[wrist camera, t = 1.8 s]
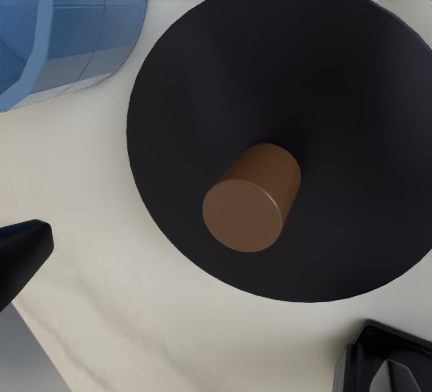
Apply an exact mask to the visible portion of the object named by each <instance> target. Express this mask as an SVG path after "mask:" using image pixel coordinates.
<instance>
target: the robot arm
mask: <svg viewBox="0 0 432 392" xmlns="http://www.w3.org/2000/svg"><path fill="white" fill-rule="evenodd" d="M53 249H54V241H53V235H52V228H51V226H50V224H48V223H46V222H44V221H41V220H38V219H34V220H30V221H25V222H21V223H17V224H13V225H9V226H5V227H1V228H0V312H1V311H2V310H3V309H4V308H5V307H6V306H7V305H8V304H9V303H10V302H11V301H12V300H13V299H14V298H15V297H16V296H17V295H18V294H19V292H20V291H21V290H22V289H23V288H24V287H25V285H26V284H27V283H28V282H29V280H30V279H31V278H32V277H33V276H34V274H35V273H36V272H37V271H38V270H39V268H40V267H41V266H42V265H43V264H44V262H45V261H46V260H47V259H48V257H49V256H50V255H51V254H52V252H53ZM370 328H371V329H374V330H371V329H370ZM332 392H432V343H431V342H428V341H425V340H423V339H420V338H417V337H415V336H412V335H410V334H407V333H404V332H402V331H399V330H396V329H394V328H391V327H388V326H386V325H383V324H380V323H378V322H375V321H366V322H364V323H363V325H362V327H361V329H360V331H359V332H358V334H357V336H356V338H355V340H354V342H353V343H351V342H350V343H348V344H346V346H345V348H344V350H343V352H342V354H341V356H340V357H339V359H338V361H337V363H336V365H335V372H334V381H333V390H332Z"/></svg>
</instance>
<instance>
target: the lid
mask: <svg viewBox="0 0 432 392" xmlns="http://www.w3.org/2000/svg"><path fill="white" fill-rule="evenodd" d="M126 135H127V150H128V156H129V161H130V167H131V170H132V174H133V177H134V180H135V184H136V186H137V189H138V191H139V194H140V196H141V198H142V201H143V202H144V204H145V206H146V208H147V210H148V212H149V213H150V215H151V217H152V218H153V220H154V221H155V223H156V224H157V226H158V227H159V229H160V230H161V231H162V232H163V233H164V235H165V236H166V237H167V238H168V239H169V241H170V242H171V243H172V244H173V245H174V246H175V247H176V248H177V249H178V250H179V251H180V252H181V253H182V254H183V255H184V256H186V257H187V258H188V259H189V260H190V261H192V262H193V263H194V264H195V265H197V266H198V267H200V268H201V269H202V270H204V271H205V272H207V273H208V274H210V275H212V276H213V277H215V278H217V279H219V280H220V281H222V282H224V283H226V284H228V285H231V286H233V287H235V288H237V289H240V290H242V291H245V292H248V293H251V294H254V295H257V296H261V297H265V298H270V299H274V300H281V301H288V302H303V303H315V302H330V301H335V300H341V299H347V298H351V297H354V296H357V295H361V294H364V293H367V292H370V291H372V290H374V289H377V288H379V287H381V286H384V285H386V284H388V283H389V282H391V281H393V280H394V279H396V278H398V277H399V276H401V275H403V274H404V273H405V272H407V271H408V270H409V269H411V268H412V267H413V266H414V265H416V264H417V263H418V262H419V261H420V260H421V259H422V258H423V257H424V256H425V255H426V254H427V253H428V252H429V251H430V250H431V249H432V50H431V48H430V47H429V46H428V45H427V44H426V43H425V41H424V40H423V39H422V38H421V37H420V36H419V34H418V33H416V32H415V31H414V30H413V29H412V28H411V27H409V26H408V25H407V24H406V23H405V22H403V21H402V20H401V19H400V18H399V17H397V16H396V15H395V14H393V13H392V12H390V11H388V10H387V9H385V8H383V7H382V6H380V5H378V4H377V3H375V2H373V1H372V0H205V1H204V2H202V3H200V4H199V5H197V6H195V7H194V8H192V9H190V10H189V11H188V12H186V13H185V14H184V15H183V16H182V17H180V18H179V19H178V20H177V21H176V22H174V23H173V24H172V25H171V26H170V27H169V28H168V29H167V31H166V32H165V33H164V34H163V35H162V36H161V37H160V38H159V40H158V41H157V42H156V43H155V45H154V46H153V48H152V49H151V51H150V53H149V54H148V56H147V57H146V59H145V61H144V63H143V65H142V67H141V69H140V71H139V73H138V75H137V77H136V80H135V84H134V87H133V90H132V93H131V96H130V102H129V108H128V113H127V130H126Z"/></svg>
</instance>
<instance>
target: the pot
mask: <svg viewBox="0 0 432 392" xmlns="http://www.w3.org/2000/svg"><path fill="white" fill-rule="evenodd" d="M146 6H147V0H0V113H1V112H7V111H10V110H14V109H17V108H20V107H24V106H27V105H30V104H34V103H37V102H40V101H44V100H47V99H50V98H53V97H57V96H60V95H63V94H67V93H70V92H74V91H77V90H80V89H84V88H87V87H90V86H92V85H94V84H95V83H98V82H100V81H102V80H104V79H106V78H107V77H109V76H110V75H112V74H113V73H114V72H115V71H116V70H118V69H119V67H120V66H121V65H122V64H123V63H124V62H125V60H126V59H127V57H128V56H129V54H130V53H131V51H132V49H133V48H134V46H135V43H136V41H137V39H138V36H139V34H140V31H141V28H142V24H143V21H144V17H145V11H146Z"/></svg>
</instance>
